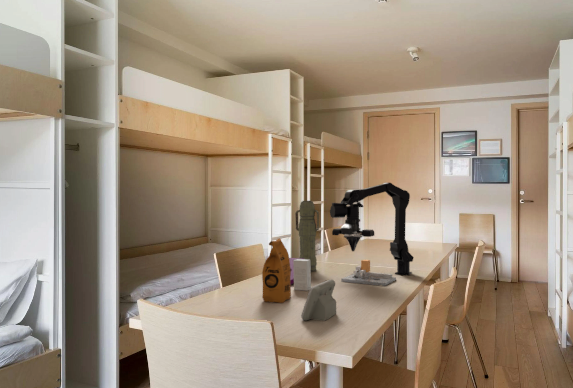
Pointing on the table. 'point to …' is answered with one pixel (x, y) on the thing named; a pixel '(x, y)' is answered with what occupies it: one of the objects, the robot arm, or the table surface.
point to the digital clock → (320, 302)
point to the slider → (364, 267)
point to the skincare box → (302, 274)
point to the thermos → (307, 231)
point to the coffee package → (276, 274)
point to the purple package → (292, 269)
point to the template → (369, 278)
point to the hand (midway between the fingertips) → (353, 251)
